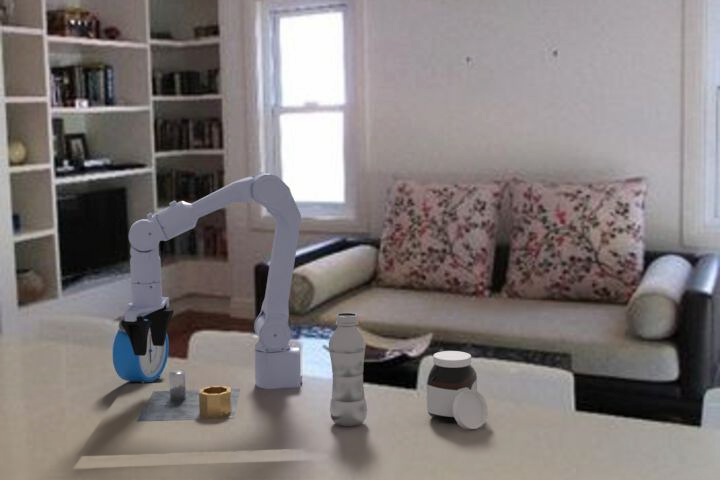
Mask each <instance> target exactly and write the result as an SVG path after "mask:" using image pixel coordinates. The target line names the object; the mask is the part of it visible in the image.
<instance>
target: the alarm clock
mask: <svg viewBox="0 0 720 480" xmlns="http://www.w3.org/2000/svg"><path fill="white" fill-rule="evenodd" d="M124 318H125V315H124V316H123V317H121V319H120V320H119V323H118V329H117V332H116V334H115V337H114V341H113V343H112V344H113V345H112V363H113V368H114V370H115V372H116V374H117V375H118V377H120V378H121V379H122V380H123V381H126V382H139V383H141V384H145V383H152V382H154V381H156V380H157V379H159V377H160V378H161V376H162V374H163V372H164V370H165V368H166V365H167V362H168V358H169V350H170V346H169V345H170V343H169V336H168V333H166V338H165V343H164V346H153V343H152V339H151V331H150V328H149V332H148V338H147V351H146V355H144V356H139V355H134V352H133V348H132V345H131V342H130V339H129V337H128V335H127V333H126V331H125V329H124V328H123V327H122V325H121V320H122V319H124ZM142 319H144V320H147V317H146V315H145V316H143V317H142Z"/></svg>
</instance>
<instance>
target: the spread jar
mask: <svg viewBox="0 0 720 480" xmlns="http://www.w3.org/2000/svg"><path fill="white" fill-rule="evenodd" d="M426 410H427V414H428V415H429V416H430V418H432V419H433V420H435V421H437V422H439V423H442V424H449V425H451V424H452V425H454V424H455V425H456V424H458V425H459V426H460V427H461V428H463V429H465V430H476V429H479V428H481V427H482V426H483V425H484V424H485V422H486V420H487V418H488V417H487V416H488V412H489V411H488V403H487V401H486V399H485V398H484V396H483V395H482V393H480V391H478V376H477V371H476V370H475V368H474V367H473V366H472V355H471V354H470V353H468V352H464V351H459V350H443V351H438V352H436V353H433V366H432V368H431V369H430V371H429V373H428V377H427V381H426Z"/></svg>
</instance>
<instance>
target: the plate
mask: <svg viewBox="0 0 720 480" xmlns="http://www.w3.org/2000/svg"><path fill="white" fill-rule="evenodd" d="M168 373H169V375H168V376H169V390H159V391H157V390H155V391H153V392H152V394H151V395H150V397H149V399H148V401H147V403H146V404H145V405H144V408H143V410H142V411H141V412H140V415H139V417H138V419H137V420H136V421H137V422H158V421H160V422H161V421H162V422H163V421H165V422H166V421H191V420H196V421H197V420H220V419H221V420H222V419H234V418H235V414H236V408H237V405H238V401H239V395H240V391H241V388H231V401H232V410H231V413H230V414H226V415H223V416H215V417H207V416H204V415H201V414H200V409H199V391H200V389H189V390H187V380H186V378H187V377H186V371H183V370H173V371H170V372H168Z"/></svg>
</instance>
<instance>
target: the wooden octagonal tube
mask: <svg viewBox="0 0 720 480" xmlns="http://www.w3.org/2000/svg"><path fill="white" fill-rule="evenodd" d="M231 389H232V388H231V387H230V386H225V385H212V386H211V385H209V386H206V387H202V388H200V389H199V390H200V391H199V409H200V414H201V415H204V416H207V417H215V416H223V415H226V414H230V413H231V410H232V401H231Z"/></svg>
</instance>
